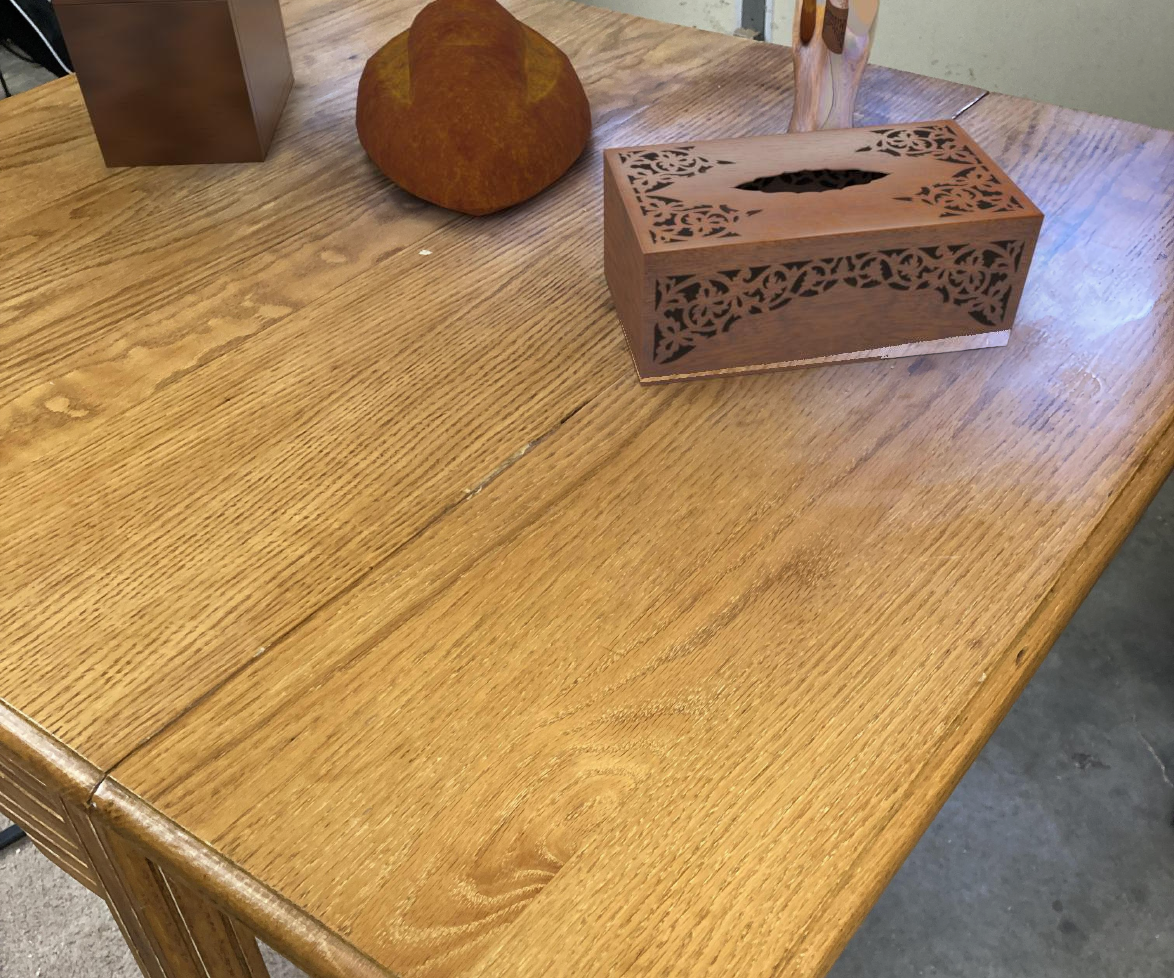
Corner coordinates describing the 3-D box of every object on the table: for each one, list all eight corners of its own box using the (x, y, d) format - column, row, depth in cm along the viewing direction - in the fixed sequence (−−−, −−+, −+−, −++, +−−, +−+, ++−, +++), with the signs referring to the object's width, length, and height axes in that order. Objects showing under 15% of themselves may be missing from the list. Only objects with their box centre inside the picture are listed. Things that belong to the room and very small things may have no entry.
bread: (338, 238, 90) (310, 87, 81) (378, 76, 114) (359, -54, 105) (600, 229, 90) (599, 77, 82) (584, 69, 114) (582, -61, 106)
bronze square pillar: (105, 167, 100) (45, -15, 89) (156, 84, 113) (109, -83, 103) (263, 162, 100) (222, -21, 89) (294, 79, 113) (262, -88, 103)
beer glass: (766, 132, 103) (783, -41, 92) (833, 120, 104) (857, -51, 94) (803, 164, 98) (826, -15, 88) (873, 150, 99) (902, -26, 89)
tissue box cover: (927, 241, 88) (953, 119, 81) (1007, 346, 77) (1044, 215, 70) (603, 273, 85) (603, 149, 78) (640, 386, 74) (643, 253, 68)
